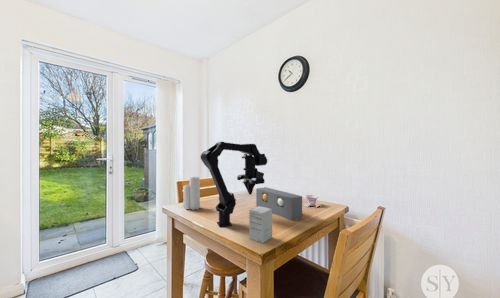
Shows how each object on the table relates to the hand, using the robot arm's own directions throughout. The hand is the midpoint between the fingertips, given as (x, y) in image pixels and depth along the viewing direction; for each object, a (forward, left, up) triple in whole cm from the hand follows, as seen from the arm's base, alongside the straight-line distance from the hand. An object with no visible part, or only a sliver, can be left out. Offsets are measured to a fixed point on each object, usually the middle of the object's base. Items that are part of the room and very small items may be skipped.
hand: (250, 194), depth 119 cm
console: (+3, -19, -13) cm, 23 cm away
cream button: (-4, -18, -7) cm, 19 cm away
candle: (+32, +28, -13) cm, 44 cm away
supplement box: (-26, +6, -13) cm, 30 cm away
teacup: (+7, -48, -13) cm, 50 cm away
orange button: (+10, -15, -7) cm, 19 cm away
